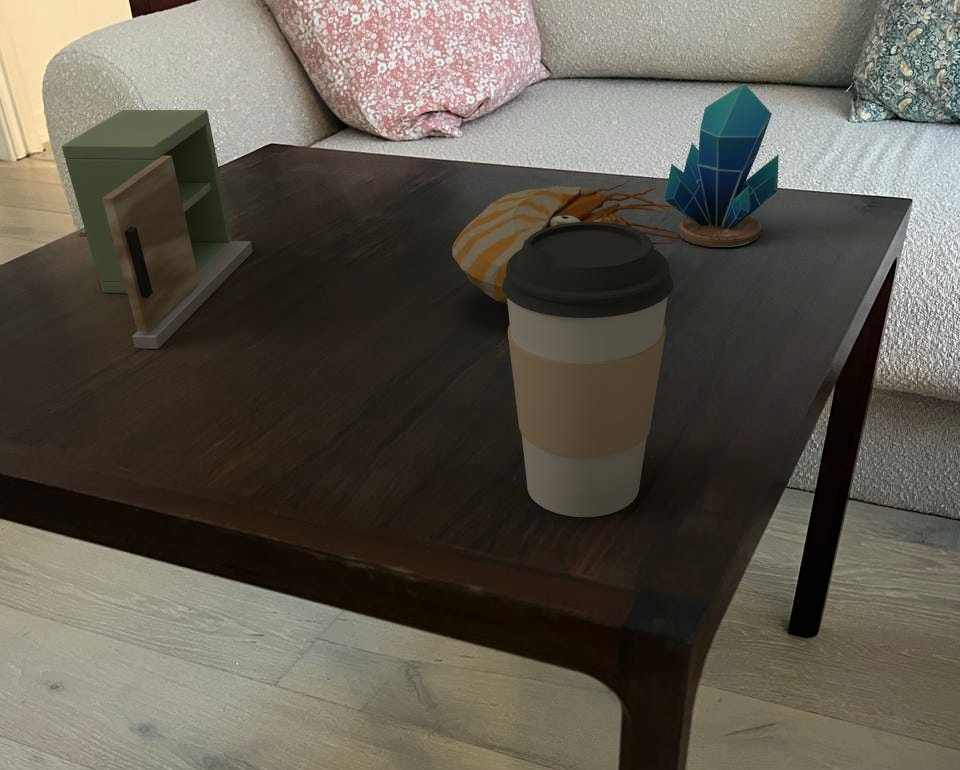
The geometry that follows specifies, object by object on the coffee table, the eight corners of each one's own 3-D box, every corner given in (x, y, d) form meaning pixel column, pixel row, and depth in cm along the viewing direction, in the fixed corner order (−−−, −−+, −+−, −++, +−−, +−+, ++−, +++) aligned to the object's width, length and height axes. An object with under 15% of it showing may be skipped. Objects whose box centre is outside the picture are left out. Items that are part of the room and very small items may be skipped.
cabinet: (41, 344, 83) (-11, 187, 76) (155, 247, 99) (122, 109, 92) (158, 349, 82) (117, 188, 74) (255, 250, 98) (229, 109, 90)
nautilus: (638, 244, 96) (733, 310, 85) (419, 277, 88) (495, 352, 78) (650, 152, 90) (753, 210, 80) (418, 179, 83) (500, 246, 73)
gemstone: (691, 215, 100) (702, 75, 92) (777, 230, 95) (797, 84, 88) (654, 240, 95) (663, 94, 87) (743, 256, 91) (761, 105, 83)
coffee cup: (620, 437, 68) (631, 197, 58) (684, 507, 61) (709, 249, 52) (488, 465, 66) (477, 221, 56) (539, 541, 59) (537, 279, 50)
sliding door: (137, 331, 81) (101, 198, 75) (190, 280, 89) (162, 155, 83) (153, 332, 81) (118, 198, 75) (204, 281, 89) (177, 155, 82)
